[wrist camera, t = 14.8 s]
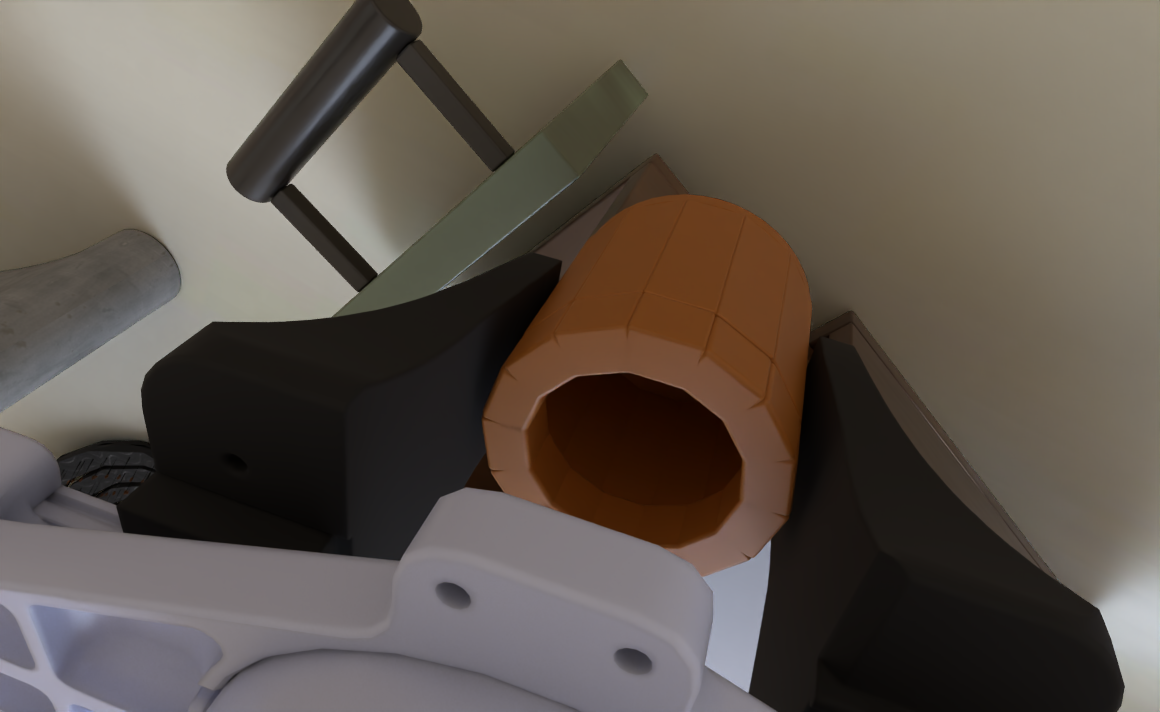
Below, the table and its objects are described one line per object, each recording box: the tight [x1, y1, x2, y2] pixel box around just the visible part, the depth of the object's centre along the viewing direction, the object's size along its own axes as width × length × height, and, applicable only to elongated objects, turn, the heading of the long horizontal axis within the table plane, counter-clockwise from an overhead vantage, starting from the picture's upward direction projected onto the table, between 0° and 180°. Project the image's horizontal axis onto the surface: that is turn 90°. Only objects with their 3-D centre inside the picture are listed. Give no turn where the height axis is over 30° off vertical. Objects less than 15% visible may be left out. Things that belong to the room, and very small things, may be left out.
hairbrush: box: [56, 441, 156, 505], centre depth 37 cm, size 8×4×25 cm
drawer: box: [226, 0, 813, 493], centre depth 22 cm, size 18×11×7 cm, turn 42°
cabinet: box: [702, 311, 1059, 693], centre depth 25 cm, size 15×13×8 cm
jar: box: [482, 194, 812, 577], centre depth 13 cm, size 5×5×5 cm
